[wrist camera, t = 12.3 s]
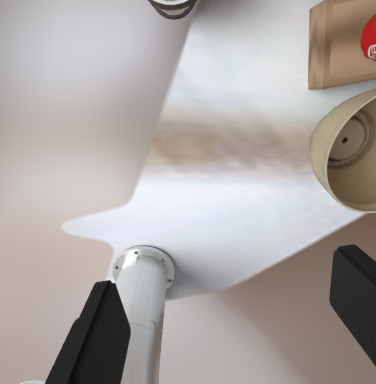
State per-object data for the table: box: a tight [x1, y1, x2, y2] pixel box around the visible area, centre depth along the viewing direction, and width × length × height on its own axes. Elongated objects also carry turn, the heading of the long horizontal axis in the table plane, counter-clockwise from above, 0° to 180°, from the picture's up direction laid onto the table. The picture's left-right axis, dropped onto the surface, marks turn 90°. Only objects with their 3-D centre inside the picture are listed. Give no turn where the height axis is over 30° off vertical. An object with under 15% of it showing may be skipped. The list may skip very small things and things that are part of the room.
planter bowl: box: [310, 90, 376, 213], centre depth 34 cm, size 16×16×11 cm
